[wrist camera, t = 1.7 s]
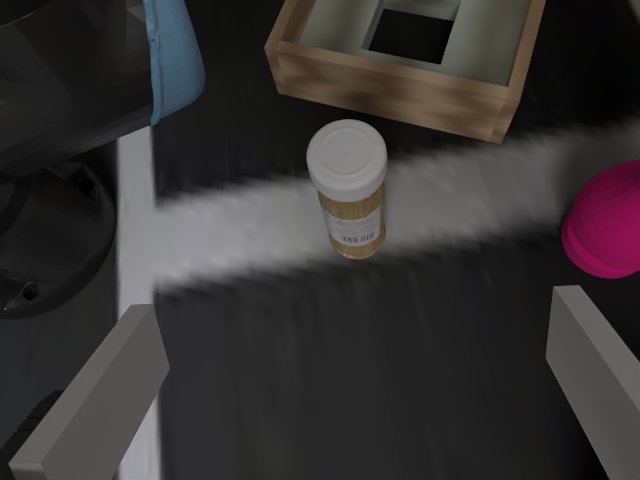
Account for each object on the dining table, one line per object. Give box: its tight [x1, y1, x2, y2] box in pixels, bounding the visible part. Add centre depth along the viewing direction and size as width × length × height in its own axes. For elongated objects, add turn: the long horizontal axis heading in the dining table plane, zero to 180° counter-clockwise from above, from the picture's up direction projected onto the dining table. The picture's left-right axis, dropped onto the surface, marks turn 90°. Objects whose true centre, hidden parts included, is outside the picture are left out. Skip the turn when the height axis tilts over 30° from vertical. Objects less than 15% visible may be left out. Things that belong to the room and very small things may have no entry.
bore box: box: [264, 0, 546, 144], centre depth 43 cm, size 20×16×6 cm
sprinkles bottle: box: [307, 119, 387, 259], centre depth 34 cm, size 5×5×13 cm
